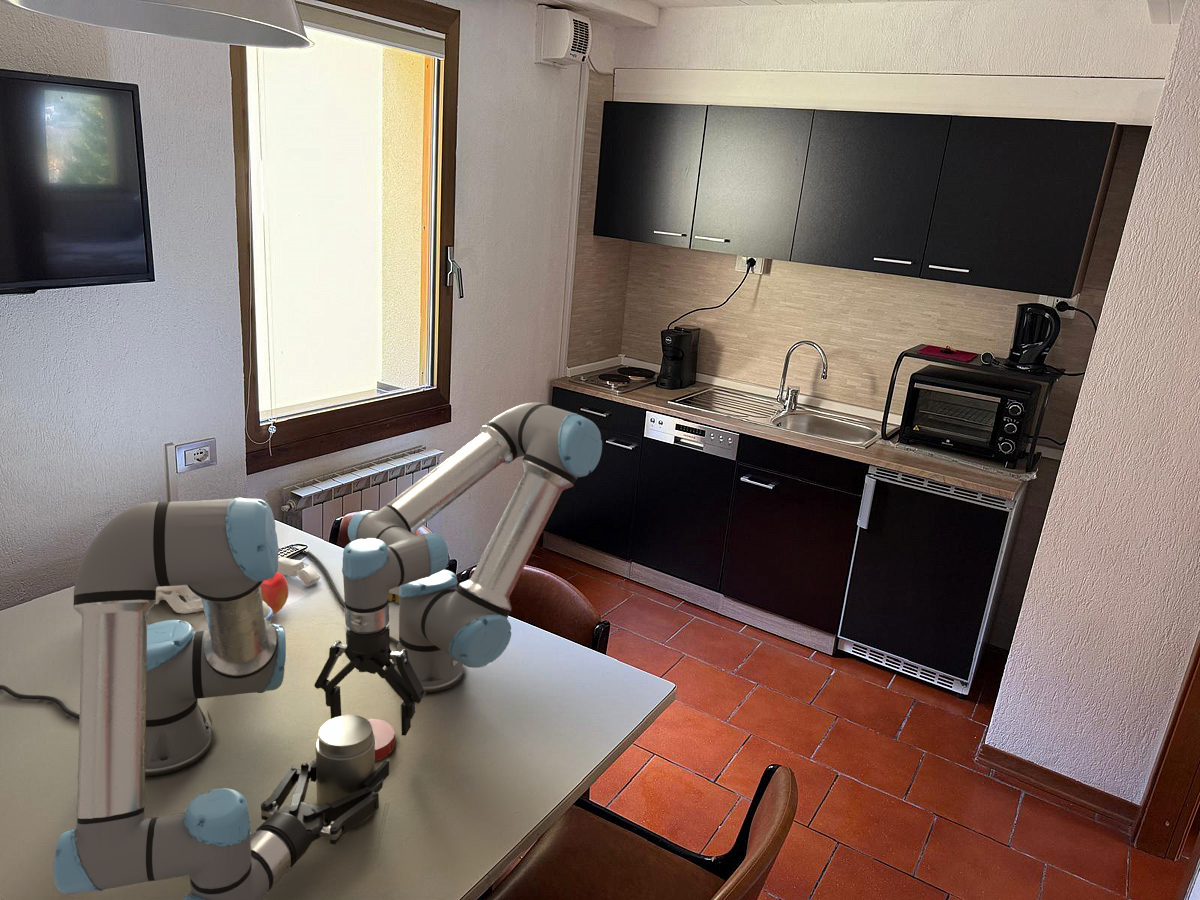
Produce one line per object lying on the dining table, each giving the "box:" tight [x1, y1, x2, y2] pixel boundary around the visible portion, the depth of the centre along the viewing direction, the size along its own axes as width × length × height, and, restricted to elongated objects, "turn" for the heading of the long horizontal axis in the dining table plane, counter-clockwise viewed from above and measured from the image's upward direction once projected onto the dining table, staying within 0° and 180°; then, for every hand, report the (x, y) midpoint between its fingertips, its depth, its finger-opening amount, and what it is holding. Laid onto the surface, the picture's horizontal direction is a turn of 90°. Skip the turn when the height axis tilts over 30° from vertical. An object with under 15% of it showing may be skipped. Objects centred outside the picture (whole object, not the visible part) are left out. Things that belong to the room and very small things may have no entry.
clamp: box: [277, 546, 322, 587], centre depth 219 cm, size 20×4×7 cm, turn 62°
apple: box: [261, 572, 289, 616], centre depth 199 cm, size 10×10×10 cm
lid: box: [366, 718, 396, 762], centre depth 158 cm, size 10×10×2 cm
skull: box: [154, 585, 204, 615], centre depth 201 cm, size 13×22×16 cm, turn 73°
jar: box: [315, 714, 376, 828], centre depth 140 cm, size 9×9×16 cm
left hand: (361, 759), depth 144 cm, fingers closed on jar, 9 cm apart
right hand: (371, 725), depth 158 cm, fingers open, 13 cm apart
